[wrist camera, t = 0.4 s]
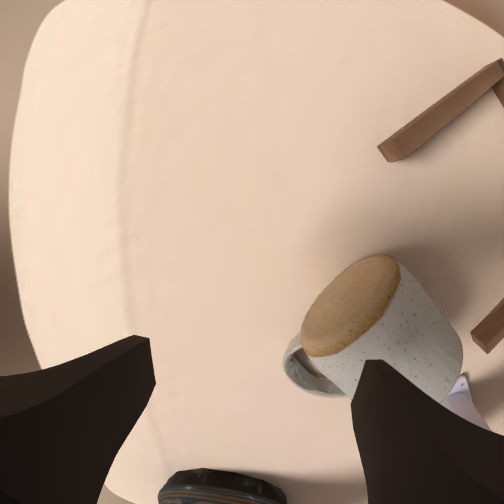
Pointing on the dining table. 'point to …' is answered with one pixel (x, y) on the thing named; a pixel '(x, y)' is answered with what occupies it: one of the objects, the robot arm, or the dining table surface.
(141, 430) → the dining table surface
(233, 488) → the beer stein
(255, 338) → the dining table surface
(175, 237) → the dining table surface
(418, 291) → the ceramic mug
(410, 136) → the walnut dock
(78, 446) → the robot arm
